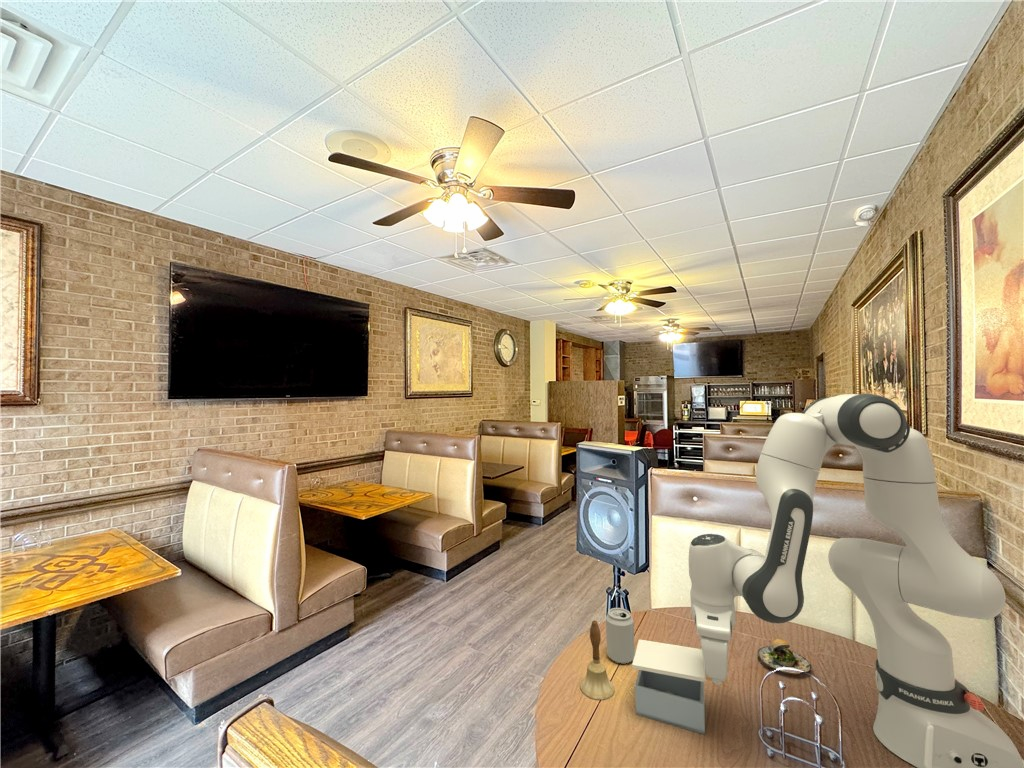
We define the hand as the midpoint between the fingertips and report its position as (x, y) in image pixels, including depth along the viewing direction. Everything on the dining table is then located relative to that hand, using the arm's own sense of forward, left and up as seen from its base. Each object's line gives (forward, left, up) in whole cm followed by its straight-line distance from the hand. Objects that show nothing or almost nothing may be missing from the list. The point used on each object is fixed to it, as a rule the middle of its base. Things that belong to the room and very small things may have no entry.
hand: (716, 675), depth 89 cm
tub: (+10, 0, -10) cm, 14 cm away
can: (+24, -15, -10) cm, 30 cm away
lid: (+8, 0, -1) cm, 8 cm away
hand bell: (+27, 0, -10) cm, 29 cm away
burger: (-16, -29, -10) cm, 35 cm away
